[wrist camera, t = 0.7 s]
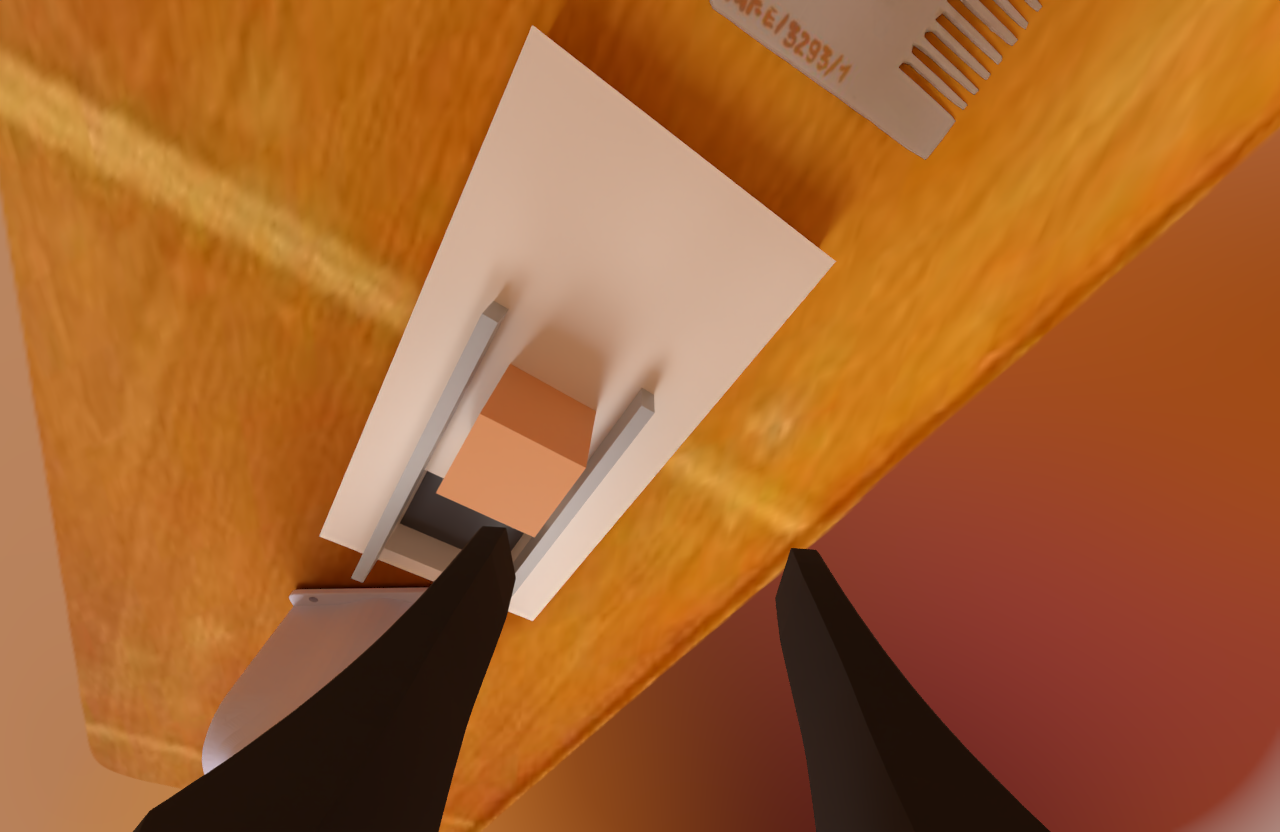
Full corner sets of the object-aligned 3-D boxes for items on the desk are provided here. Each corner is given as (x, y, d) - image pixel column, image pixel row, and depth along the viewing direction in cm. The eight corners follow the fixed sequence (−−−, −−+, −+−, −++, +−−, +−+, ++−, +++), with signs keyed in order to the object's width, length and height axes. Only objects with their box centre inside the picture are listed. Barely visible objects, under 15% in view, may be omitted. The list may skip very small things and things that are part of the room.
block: (551, 474, 22) (534, 537, 18) (470, 433, 21) (435, 493, 17) (596, 411, 20) (586, 468, 16) (510, 363, 19) (479, 413, 15)
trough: (539, 592, 29) (527, 645, 26) (341, 509, 25) (300, 559, 22) (817, 250, 18) (851, 271, 15) (544, 38, 15) (520, 12, 12)
